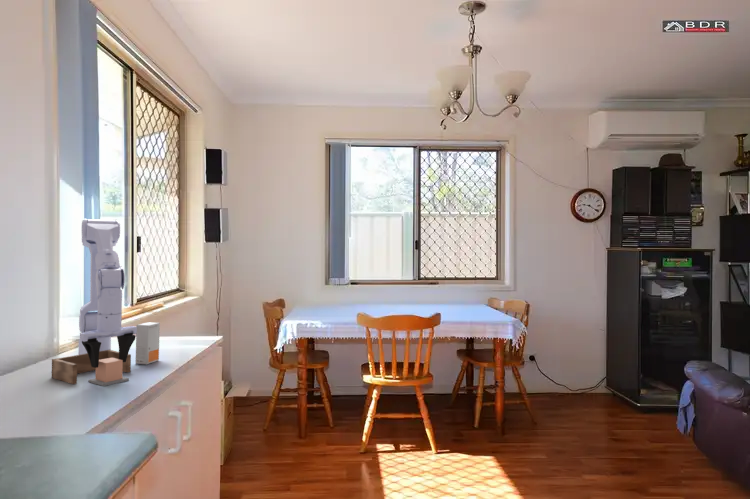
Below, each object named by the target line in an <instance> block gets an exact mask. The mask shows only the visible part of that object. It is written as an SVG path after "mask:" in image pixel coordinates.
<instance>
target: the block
mask: <svg viewBox="0 0 750 499" xmlns="http://www.w3.org/2000/svg"><path fill="white" fill-rule="evenodd" d="M122 369H123V360H120V359H116V358H107V359H101V360H99V365H98V367H97V368H96V370H95V375H94V376H95V377H94V378H95V379H96V380H100V381H103V382H109V381H114V380H119V379H122V377H123V371H122Z"/></svg>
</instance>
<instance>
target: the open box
mask: <svg viewBox="0 0 750 499" xmlns="http://www.w3.org/2000/svg"><path fill="white" fill-rule="evenodd" d="M131 357H132V354H130V353H128V356H127V359H126V362H123V369H122V373H123V372H124V373H127V374H128V373H131V369H132V365H131V363H132V362H131V361H132V360H131V359H132V358H131ZM107 358H116V359H119V351H117V350H113V349H111V350H104V351H99V360H101V359H107ZM91 371H96V368H94V367H91V362H90V359H89V356H88V353H86V354H80V355H78V354H76V355H75V354H74V355H70V356H69V355H68V356H63V357H58V358H52V359H51V378H52V379H55V380H58V381H62V382H65V383H68V384H71V385H74V384H75V385H76V384H78V374H82V373H87V372H91Z"/></svg>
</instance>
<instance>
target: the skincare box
mask: <svg viewBox="0 0 750 499" xmlns="http://www.w3.org/2000/svg"><path fill="white" fill-rule="evenodd" d="M135 327H137V334H135V364H137V365H150V364H151V363H155V362H158V360H159V361H160V333H161V332H160V327H161V324H160V322H154V321H153V322H150V321H149V322H143V323H140V324H136V326H135Z"/></svg>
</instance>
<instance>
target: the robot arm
mask: <svg viewBox="0 0 750 499" xmlns="http://www.w3.org/2000/svg"><path fill="white" fill-rule="evenodd" d="M120 234H121V224H120V221H119V220H118V219H115V220H113V219H92V218H91V219H89V218H88V219H87V218H83V219H82V220H81V243H82V246H83V247H85V248H88V250H89V253H90V289H89V291H90V297H89V298H90V300H89V301H88V302H87V303H85V304H83V305H82V306H81V307H80V308H79V317H78V327H79V328H78V329H79V332H80V333H79V339H78V354H77V355H80V354H86V353H88V356H89V359H90V362H91V367H94V368H97V367H98V365H99V351H104V350H112V345H111V344H112V338H114V337H117V338H116V339H117V344H118V352H119V359H120V360H123V362H126V359H127V356H128V354H129V353H130V350H131V347H132V345H133V343H134V342H135V341H136V334H137V327H136V326H133V325H132V326H122V321H123V320H122V313H123V310H122V308H123V306H122V305H123V303H122V302H123V290H124V288H125V281H126V278H125V277H126V275H125V270H124V268H123V267H122V265H121V264H120V259H119V255H118V252H116V251H115V250H114V247H116V245H117V243H118V241H119V240H120Z"/></svg>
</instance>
